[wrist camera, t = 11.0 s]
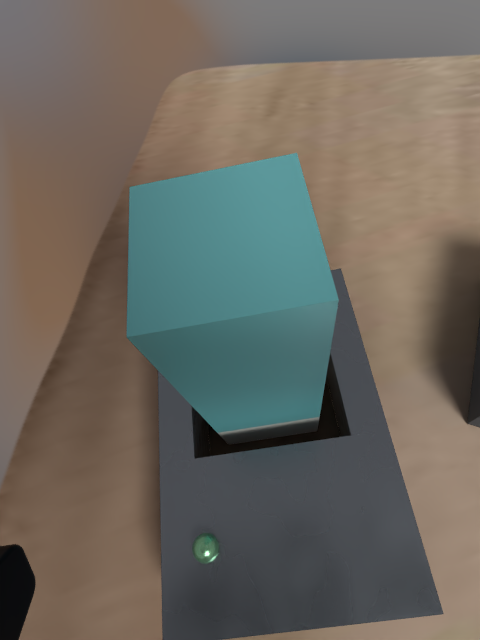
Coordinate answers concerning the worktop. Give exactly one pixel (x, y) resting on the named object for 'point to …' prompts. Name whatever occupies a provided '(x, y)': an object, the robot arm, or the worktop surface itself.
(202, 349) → the plug
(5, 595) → the robot arm
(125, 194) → the worktop surface
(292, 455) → the port
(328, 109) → the worktop surface
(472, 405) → the holster
